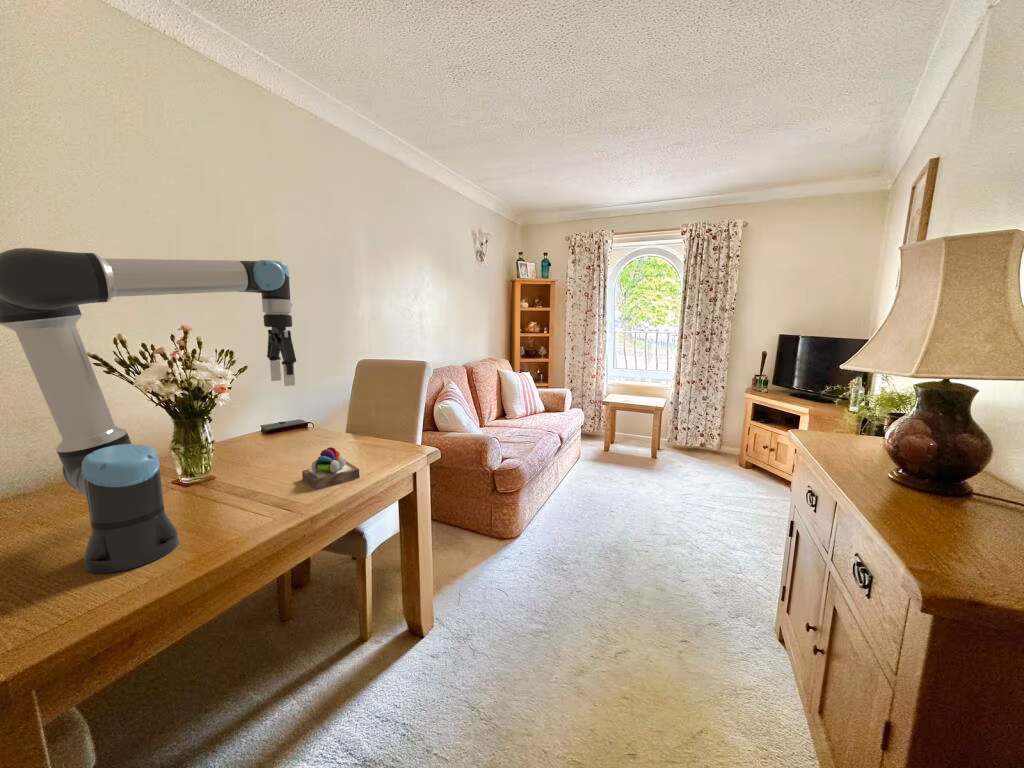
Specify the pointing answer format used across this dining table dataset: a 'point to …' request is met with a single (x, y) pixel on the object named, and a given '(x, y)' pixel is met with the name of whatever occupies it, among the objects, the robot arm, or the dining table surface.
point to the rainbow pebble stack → (329, 461)
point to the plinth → (330, 476)
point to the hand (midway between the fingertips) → (282, 383)
